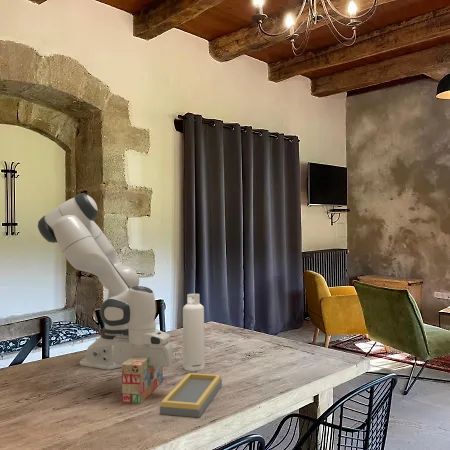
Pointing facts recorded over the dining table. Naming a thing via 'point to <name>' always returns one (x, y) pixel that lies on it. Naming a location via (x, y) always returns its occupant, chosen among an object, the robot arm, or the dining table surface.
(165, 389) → the dining table surface
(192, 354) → the bottle
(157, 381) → the stack of blocks
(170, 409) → the yellow and grey tray
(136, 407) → the dining table surface
